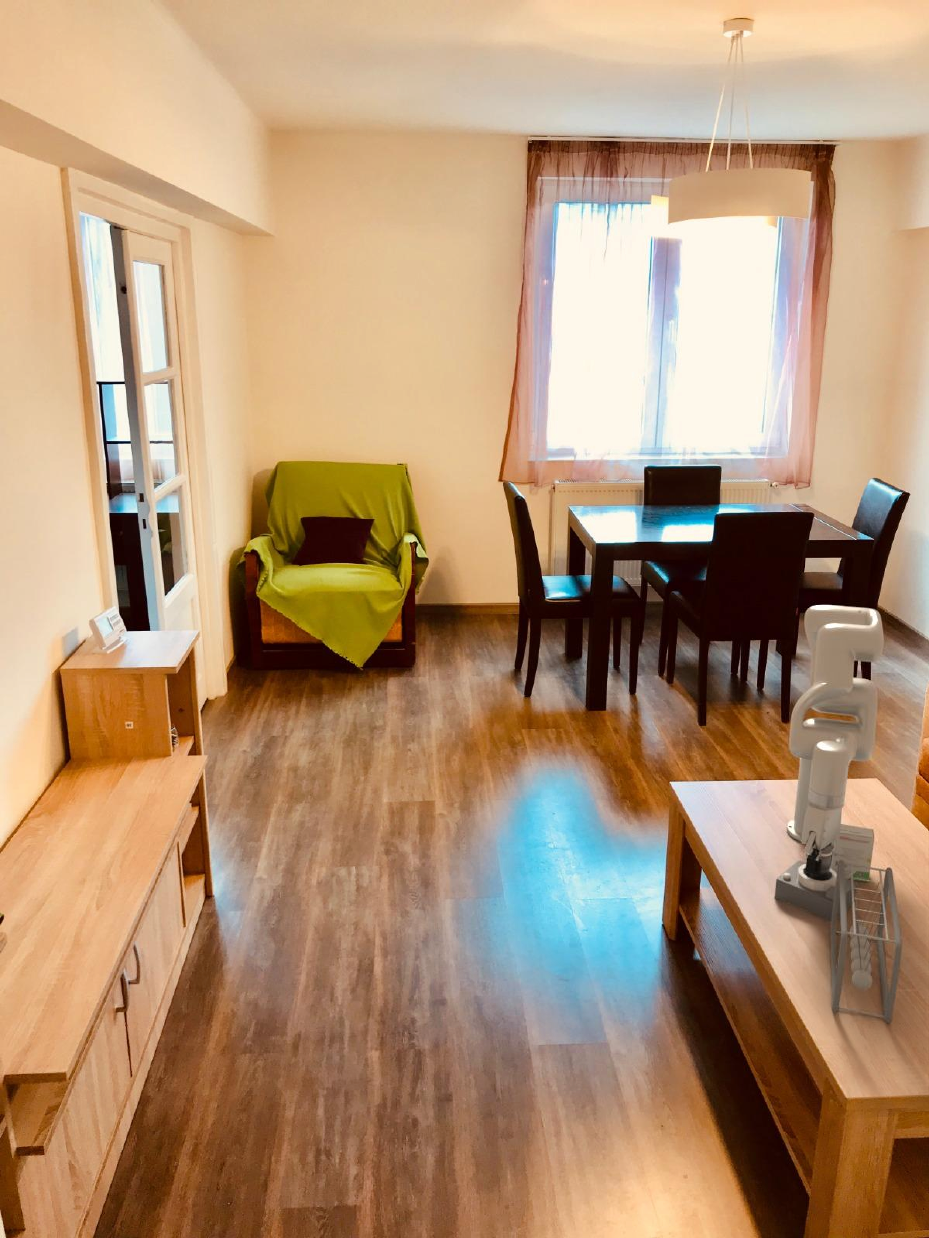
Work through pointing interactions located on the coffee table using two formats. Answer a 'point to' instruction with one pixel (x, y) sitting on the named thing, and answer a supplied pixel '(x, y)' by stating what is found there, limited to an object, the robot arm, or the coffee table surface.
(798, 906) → the camera body
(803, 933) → the coffee table surface
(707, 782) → the coffee table surface
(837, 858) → the ink box
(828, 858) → the lens
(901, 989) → the coffee table surface
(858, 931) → the newton's cradle
